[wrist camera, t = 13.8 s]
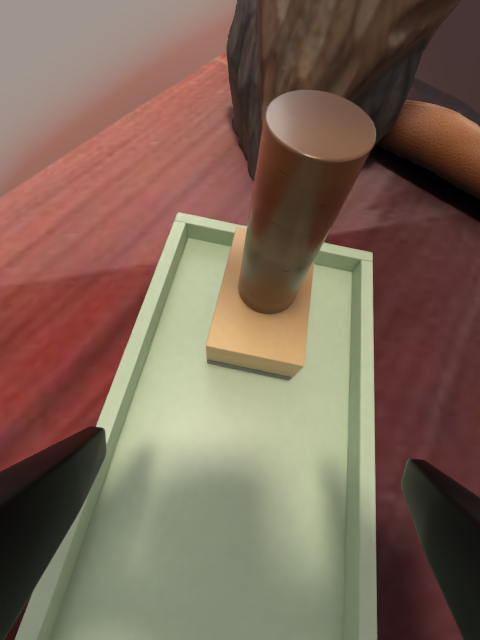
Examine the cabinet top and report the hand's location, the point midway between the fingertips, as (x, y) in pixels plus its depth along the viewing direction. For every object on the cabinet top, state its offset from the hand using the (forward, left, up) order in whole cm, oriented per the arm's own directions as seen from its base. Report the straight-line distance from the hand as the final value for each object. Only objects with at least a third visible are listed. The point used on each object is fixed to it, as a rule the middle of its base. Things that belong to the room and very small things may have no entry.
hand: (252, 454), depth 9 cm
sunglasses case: (+11, -30, -8) cm, 32 cm away
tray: (+1, -1, -8) cm, 8 cm away
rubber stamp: (+7, -5, -7) cm, 11 cm away
